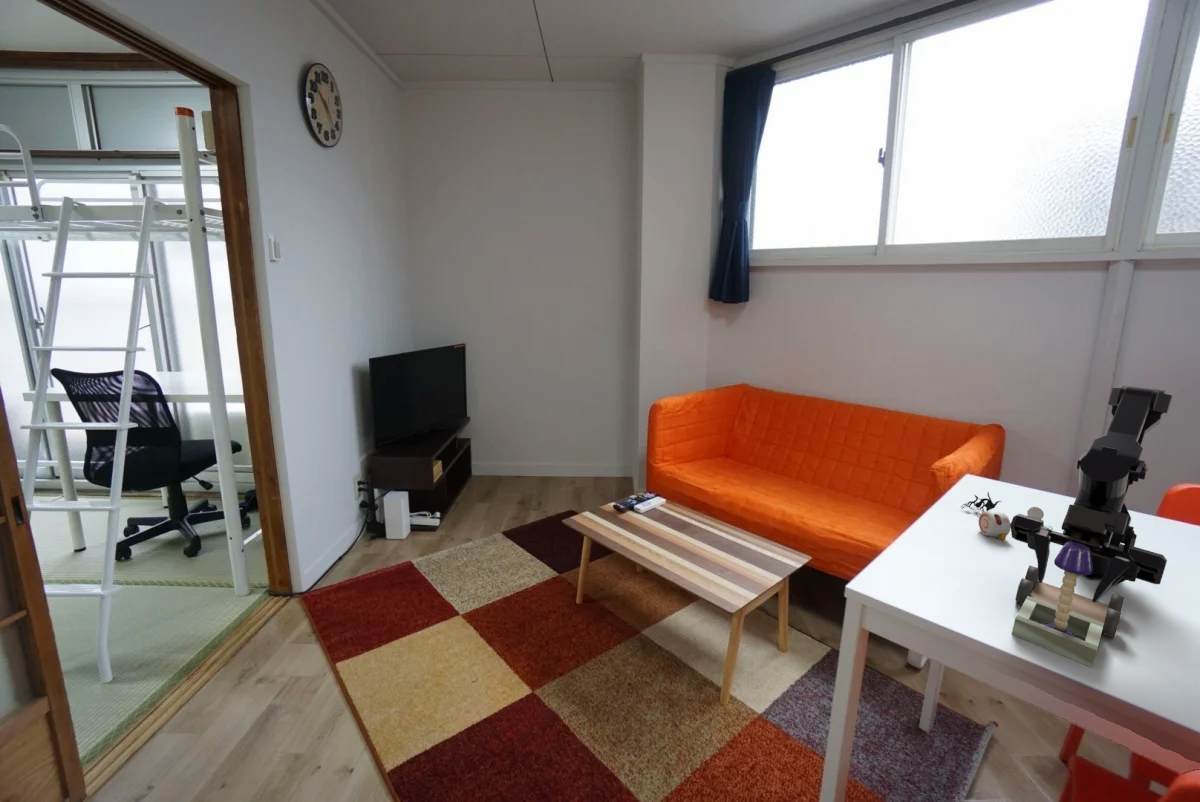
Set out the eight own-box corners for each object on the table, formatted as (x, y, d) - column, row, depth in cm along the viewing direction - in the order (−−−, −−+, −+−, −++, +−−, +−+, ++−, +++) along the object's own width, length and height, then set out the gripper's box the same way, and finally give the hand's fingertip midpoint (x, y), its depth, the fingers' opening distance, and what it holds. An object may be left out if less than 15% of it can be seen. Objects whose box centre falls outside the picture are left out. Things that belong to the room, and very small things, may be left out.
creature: (968, 520, 132) (1004, 517, 130) (967, 501, 131) (1003, 498, 129) (954, 508, 139) (988, 505, 137) (953, 489, 138) (986, 486, 137)
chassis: (1026, 582, 102) (1031, 562, 101) (1119, 614, 93) (1125, 592, 92) (999, 629, 88) (1005, 606, 87) (1106, 673, 78) (1113, 648, 77)
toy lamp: (1031, 630, 88) (1053, 541, 84) (1046, 623, 90) (1068, 536, 86) (1065, 648, 83) (1090, 556, 80) (1080, 640, 85) (1105, 549, 81)
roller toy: (994, 529, 125) (999, 507, 123) (1011, 542, 118) (1017, 519, 117) (974, 528, 125) (979, 506, 124) (991, 541, 119) (996, 518, 118)
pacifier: (1050, 543, 119) (1051, 533, 124) (1056, 518, 118) (1057, 509, 122) (1010, 532, 124) (1012, 523, 128) (1016, 508, 122) (1017, 500, 127)
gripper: (1024, 470, 90) (992, 546, 86) (1183, 507, 76) (1154, 601, 72) (1027, 501, 97) (997, 573, 92) (1173, 540, 83) (1146, 628, 78)
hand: (1066, 591), depth 83 cm, fingers open, 6 cm apart
